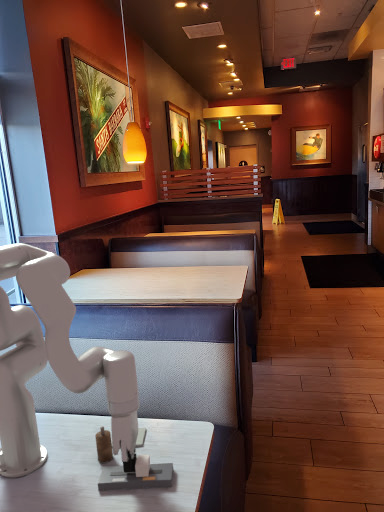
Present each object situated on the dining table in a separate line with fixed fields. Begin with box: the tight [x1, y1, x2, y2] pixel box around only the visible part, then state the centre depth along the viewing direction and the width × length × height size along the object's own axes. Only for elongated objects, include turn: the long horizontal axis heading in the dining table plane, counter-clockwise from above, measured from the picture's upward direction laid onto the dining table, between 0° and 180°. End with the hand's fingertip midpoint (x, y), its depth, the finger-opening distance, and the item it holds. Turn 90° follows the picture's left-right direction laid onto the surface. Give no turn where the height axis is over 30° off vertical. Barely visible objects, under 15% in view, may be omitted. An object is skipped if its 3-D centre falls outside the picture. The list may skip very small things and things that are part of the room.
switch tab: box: [135, 454, 151, 477], centre depth 101 cm, size 3×4×3 cm
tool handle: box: [95, 426, 114, 464], centre depth 110 cm, size 4×4×9 cm
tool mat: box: [112, 427, 147, 449], centre depth 119 cm, size 9×8×1 cm
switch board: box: [97, 462, 174, 492], centre depth 101 cm, size 18×6×2 cm, turn 89°
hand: (130, 469), depth 101 cm, fingers closed
